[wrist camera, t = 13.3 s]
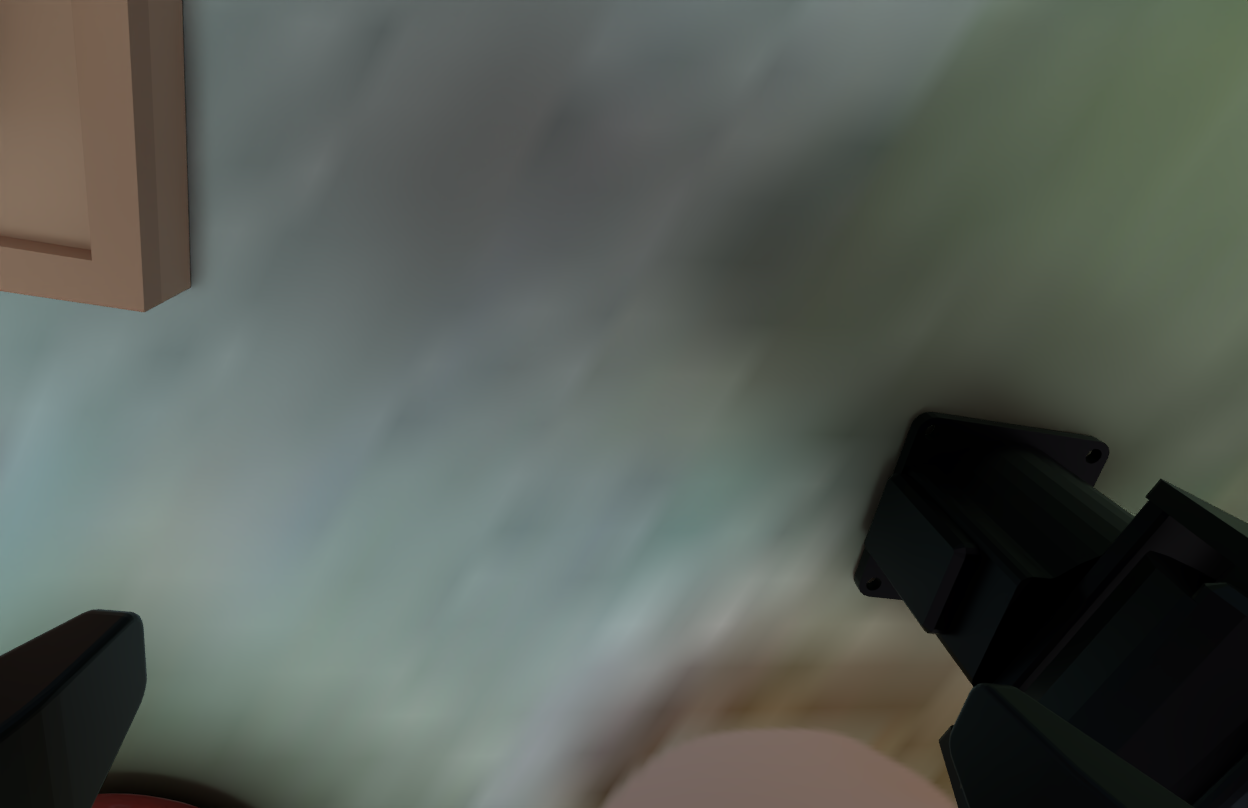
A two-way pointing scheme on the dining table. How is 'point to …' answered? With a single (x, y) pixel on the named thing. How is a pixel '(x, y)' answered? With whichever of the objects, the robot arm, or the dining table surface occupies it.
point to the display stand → (93, 151)
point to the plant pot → (136, 801)
